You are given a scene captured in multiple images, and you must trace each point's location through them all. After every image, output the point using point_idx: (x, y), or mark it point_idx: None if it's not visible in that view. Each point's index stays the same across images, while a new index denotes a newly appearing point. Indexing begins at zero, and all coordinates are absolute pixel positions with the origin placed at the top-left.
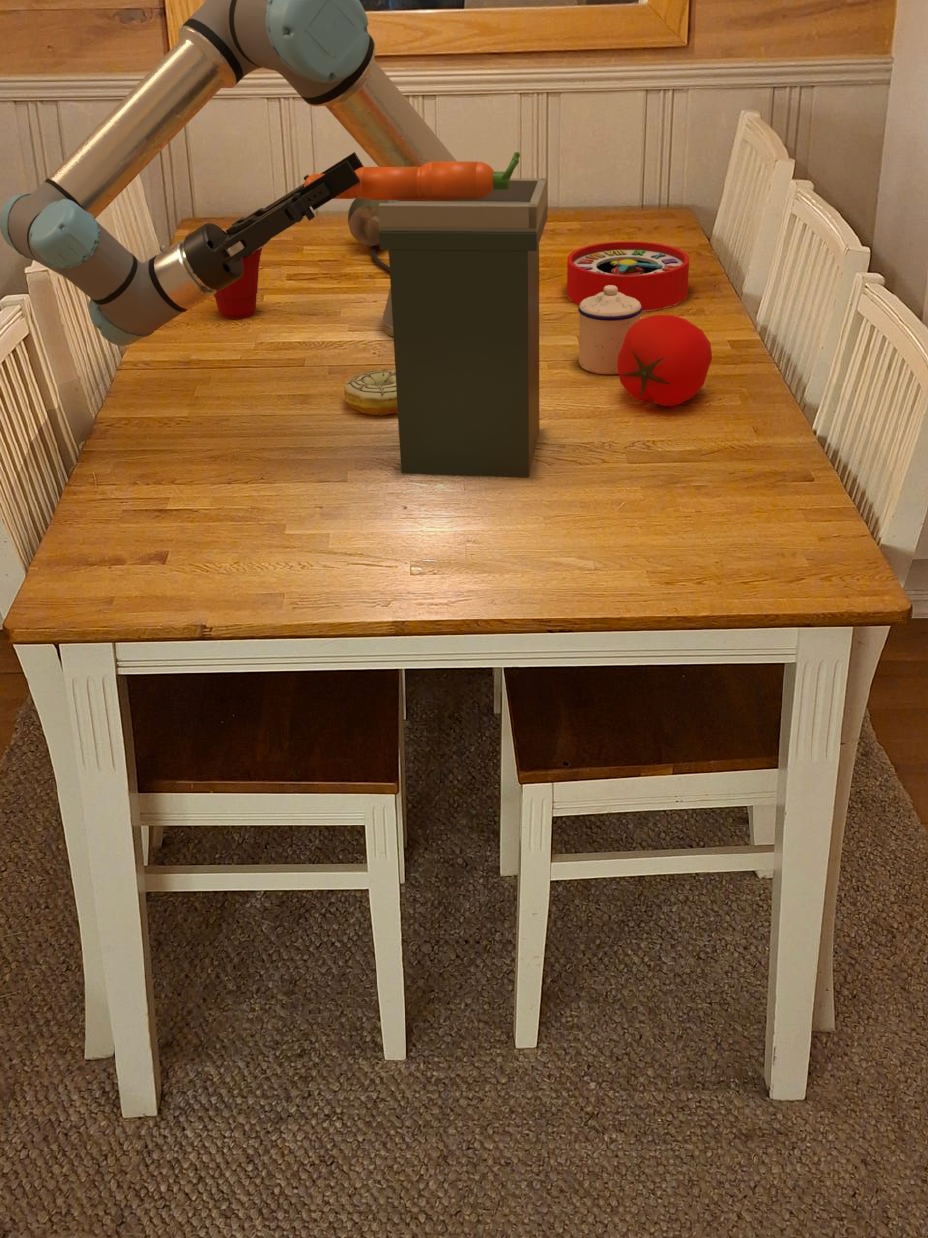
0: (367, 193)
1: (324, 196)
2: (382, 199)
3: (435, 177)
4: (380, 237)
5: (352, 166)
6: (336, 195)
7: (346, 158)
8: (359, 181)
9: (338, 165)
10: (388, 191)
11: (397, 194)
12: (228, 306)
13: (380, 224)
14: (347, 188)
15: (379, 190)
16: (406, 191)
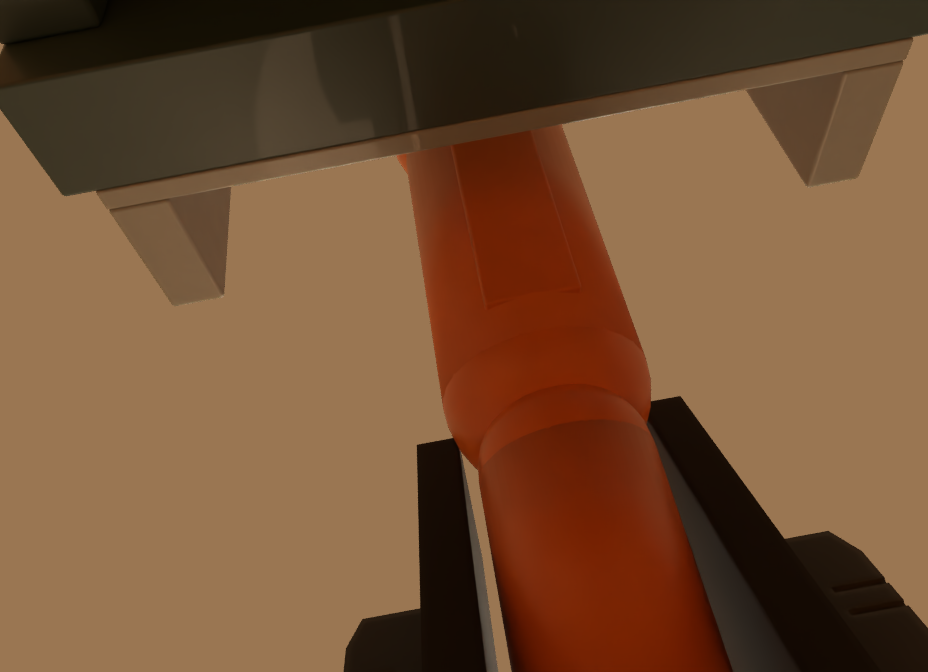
0: (445, 356)
1: (348, 667)
2: (471, 246)
3: None
4: (40, 161)
5: None
6: (421, 564)
7: None
8: (433, 442)
9: None
10: (423, 261)
11: (422, 209)
12: None
13: (118, 219)
14: (419, 499)
15: (431, 306)
16: (411, 188)
